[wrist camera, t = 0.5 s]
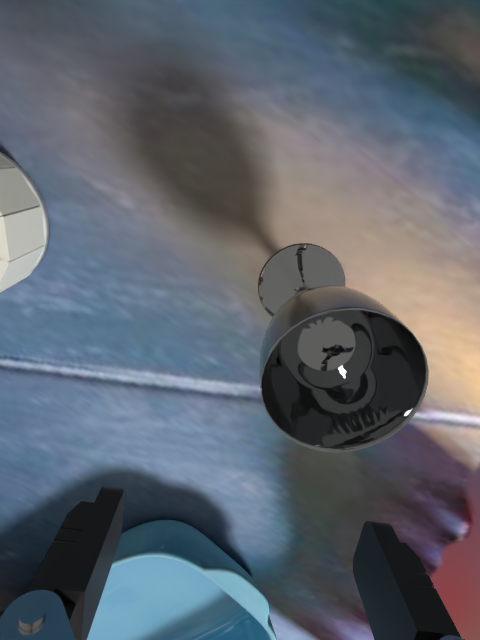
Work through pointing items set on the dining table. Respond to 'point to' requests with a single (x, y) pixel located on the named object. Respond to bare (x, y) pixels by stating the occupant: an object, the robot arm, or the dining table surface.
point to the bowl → (20, 224)
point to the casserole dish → (178, 590)
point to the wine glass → (334, 356)
